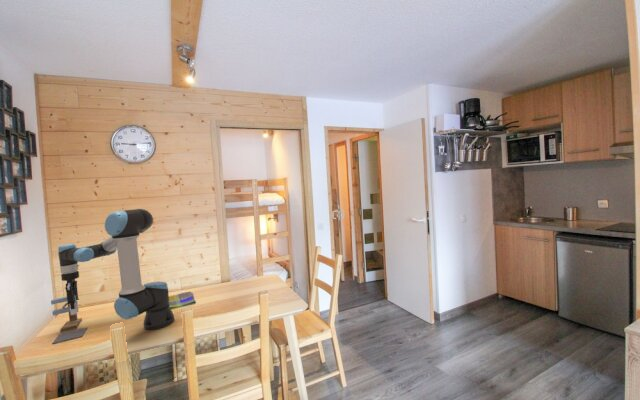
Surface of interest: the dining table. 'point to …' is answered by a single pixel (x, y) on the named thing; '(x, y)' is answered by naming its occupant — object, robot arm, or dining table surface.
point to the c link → (61, 302)
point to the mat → (69, 335)
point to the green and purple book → (181, 300)
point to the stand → (71, 321)
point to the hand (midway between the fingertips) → (74, 313)
